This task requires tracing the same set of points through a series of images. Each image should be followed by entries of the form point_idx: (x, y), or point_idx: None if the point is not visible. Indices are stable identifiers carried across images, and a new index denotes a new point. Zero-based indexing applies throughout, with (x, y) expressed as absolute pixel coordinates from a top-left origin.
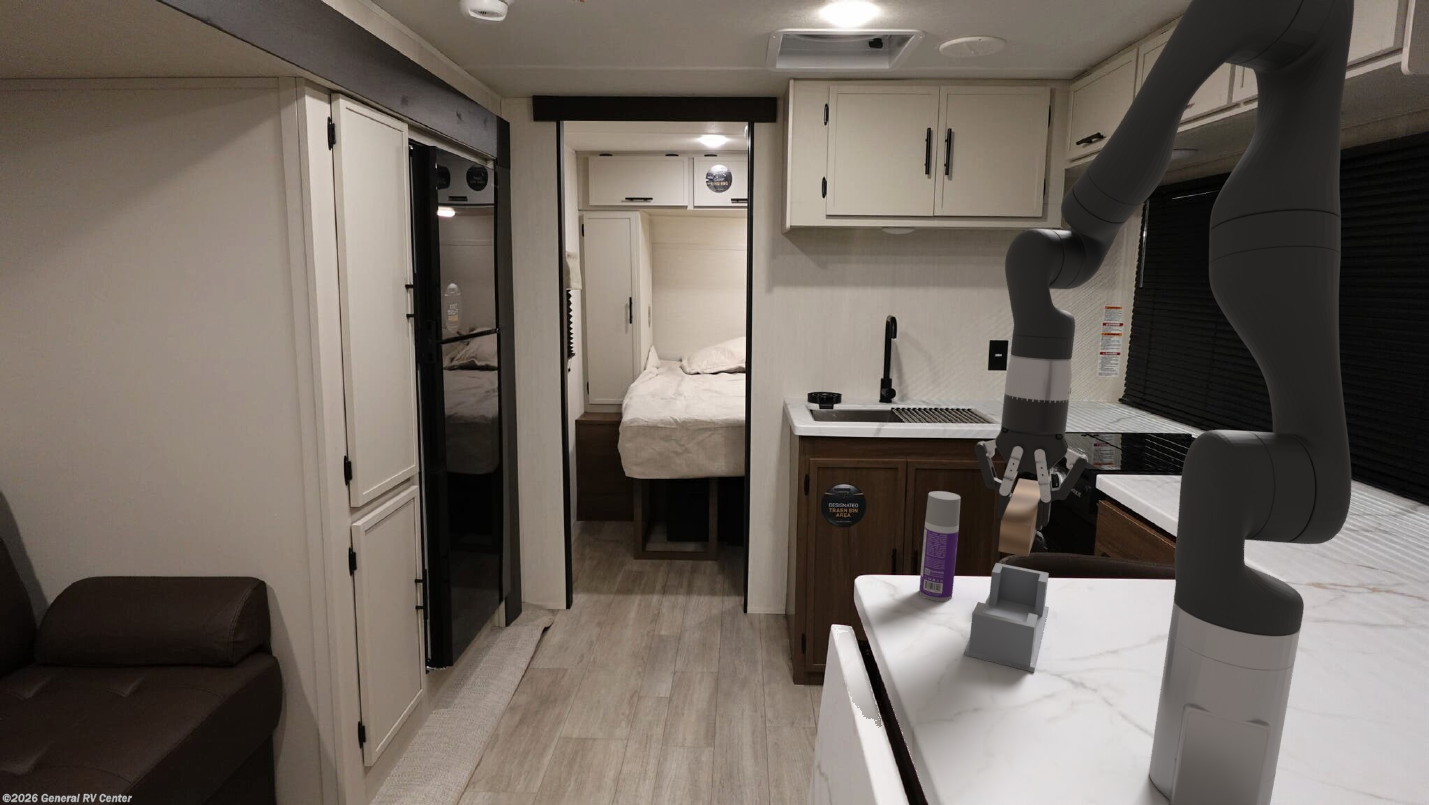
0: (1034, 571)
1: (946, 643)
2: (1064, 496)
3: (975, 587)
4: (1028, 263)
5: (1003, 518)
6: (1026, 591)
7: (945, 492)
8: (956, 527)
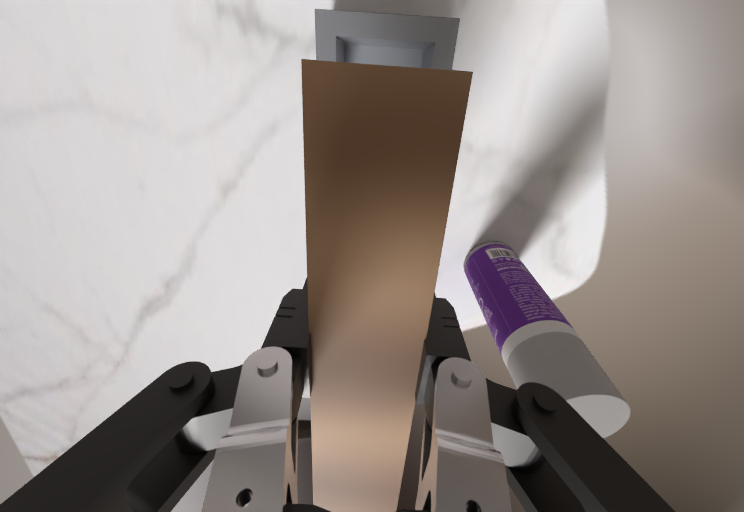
0: None
1: (478, 73)
2: (171, 379)
3: None
4: None
5: (457, 117)
6: None
7: None
8: (512, 345)
